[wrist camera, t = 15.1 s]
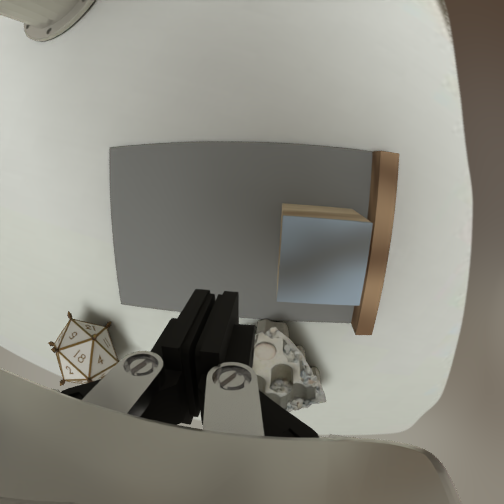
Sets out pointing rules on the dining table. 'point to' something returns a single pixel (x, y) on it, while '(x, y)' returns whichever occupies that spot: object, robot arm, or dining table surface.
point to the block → (322, 255)
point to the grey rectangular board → (222, 219)
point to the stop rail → (377, 238)
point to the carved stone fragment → (284, 368)
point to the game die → (84, 351)
